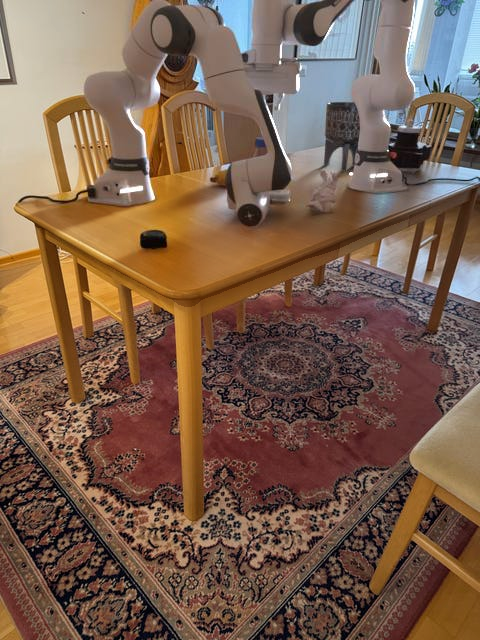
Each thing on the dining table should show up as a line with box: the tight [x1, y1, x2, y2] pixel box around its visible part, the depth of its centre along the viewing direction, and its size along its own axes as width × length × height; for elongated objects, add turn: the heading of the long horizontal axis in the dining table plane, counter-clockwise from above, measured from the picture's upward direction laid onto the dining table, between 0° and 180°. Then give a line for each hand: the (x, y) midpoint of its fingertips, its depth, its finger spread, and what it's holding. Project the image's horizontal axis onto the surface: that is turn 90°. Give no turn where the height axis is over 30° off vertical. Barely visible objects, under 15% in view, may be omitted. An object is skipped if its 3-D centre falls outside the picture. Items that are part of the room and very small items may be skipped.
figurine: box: [305, 168, 338, 213], centre depth 146 cm, size 8×15×13 cm, turn 145°
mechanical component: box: [388, 119, 433, 174], centre depth 204 cm, size 22×21×30 cm
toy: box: [209, 168, 228, 188], centre depth 176 cm, size 11×6×15 cm
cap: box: [254, 136, 266, 148], centre depth 142 cm, size 4×5×2 cm
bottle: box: [252, 147, 268, 158], centre depth 147 cm, size 5×5×21 cm
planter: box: [323, 101, 360, 172], centre depth 204 cm, size 20×20×26 cm
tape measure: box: [139, 229, 168, 250], centre depth 117 cm, size 7×7×4 cm
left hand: (260, 189), depth 150 cm, fingers closed on bottle, 5 cm apart
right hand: (263, 109), depth 137 cm, fingers open, 7 cm apart
